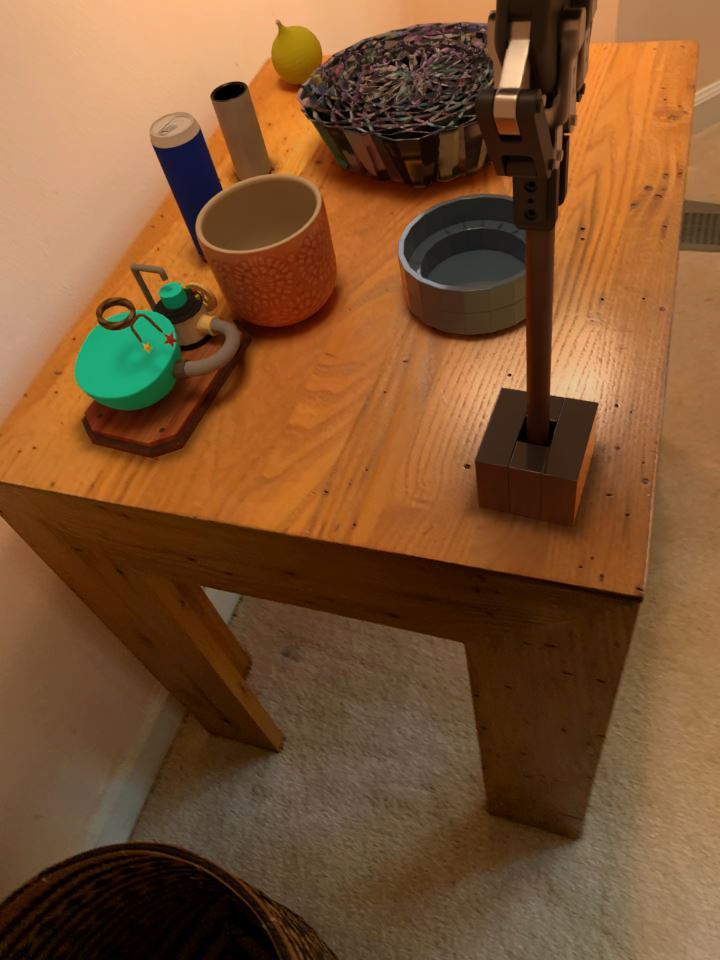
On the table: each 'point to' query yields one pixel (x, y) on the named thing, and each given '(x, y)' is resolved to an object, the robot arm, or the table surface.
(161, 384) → the contraption on wooden base
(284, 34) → the yellow oval fruit
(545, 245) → the stirring stick
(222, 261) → the planter
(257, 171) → the cardboard tube
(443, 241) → the bowl
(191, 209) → the beverage can
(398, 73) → the decorative bowl
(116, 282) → the table surface
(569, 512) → the holder
